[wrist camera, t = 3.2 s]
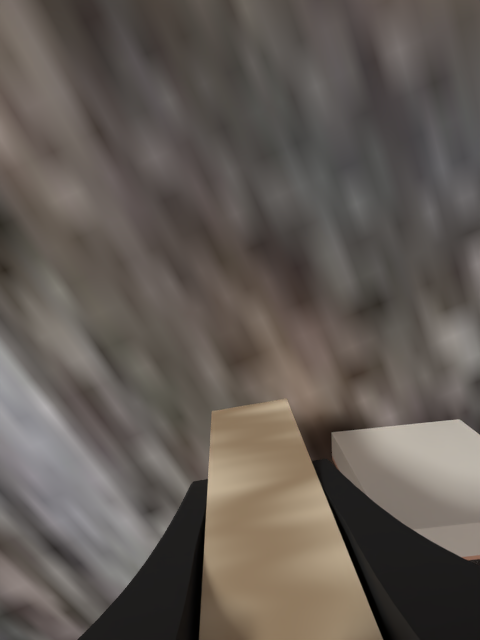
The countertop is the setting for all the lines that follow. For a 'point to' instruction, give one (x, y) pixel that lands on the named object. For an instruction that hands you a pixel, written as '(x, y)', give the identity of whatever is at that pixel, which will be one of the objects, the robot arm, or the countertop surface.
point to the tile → (419, 478)
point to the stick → (273, 538)
